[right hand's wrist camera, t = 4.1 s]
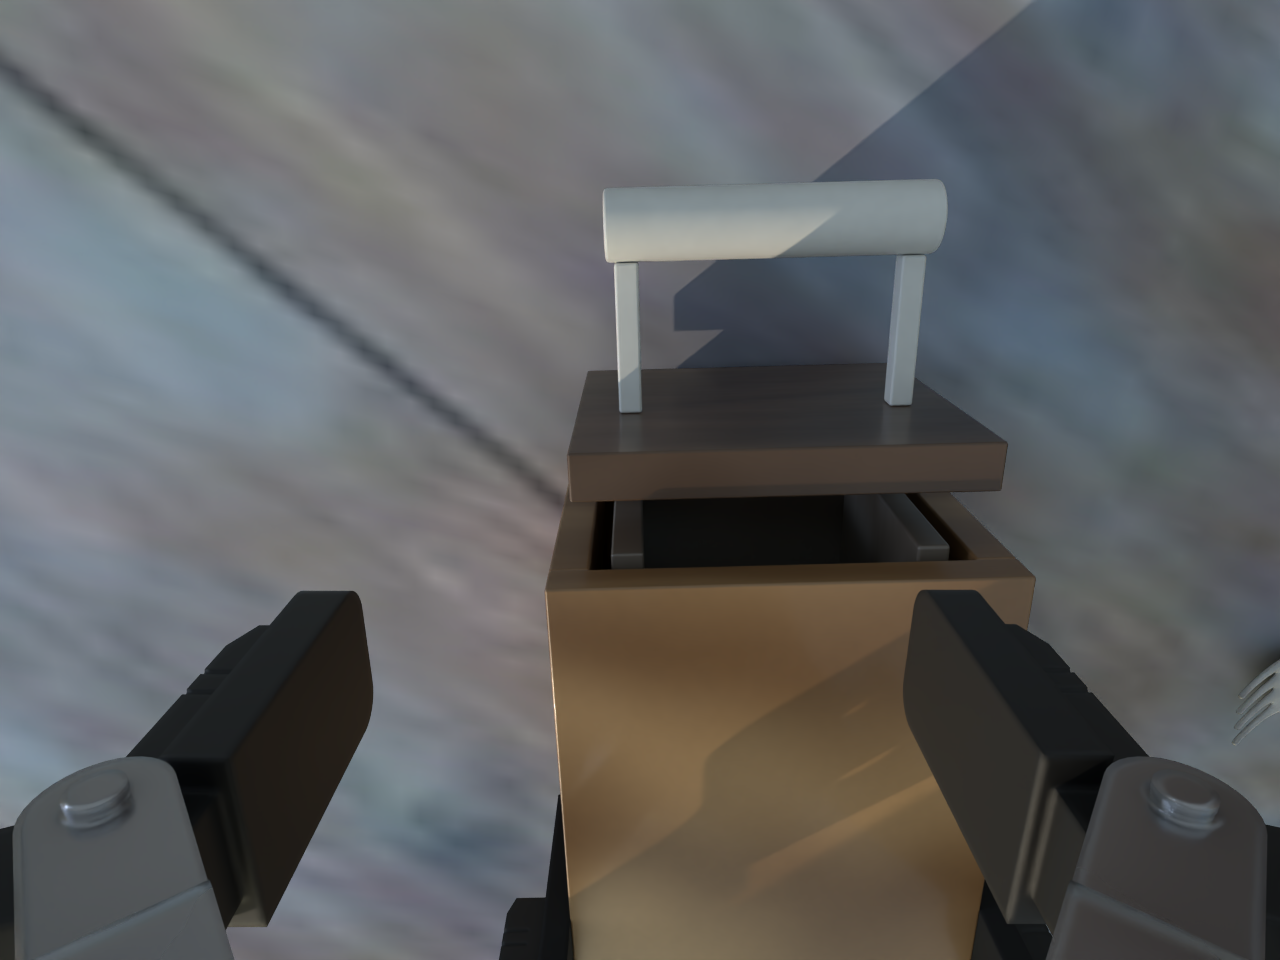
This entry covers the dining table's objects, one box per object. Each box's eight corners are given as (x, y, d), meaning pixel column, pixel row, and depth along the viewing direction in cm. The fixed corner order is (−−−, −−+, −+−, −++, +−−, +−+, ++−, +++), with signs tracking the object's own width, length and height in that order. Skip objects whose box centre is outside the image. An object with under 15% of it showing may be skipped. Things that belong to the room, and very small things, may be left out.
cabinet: (576, 446, 28) (544, 589, 18) (895, 437, 28) (1037, 576, 18) (597, 813, 33) (581, 1073, 24) (861, 807, 33) (954, 1064, 24)
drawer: (578, 187, 24) (550, 190, 16) (911, 178, 24) (1048, 177, 16) (606, 748, 31) (596, 941, 23) (860, 742, 31) (937, 932, 23)
